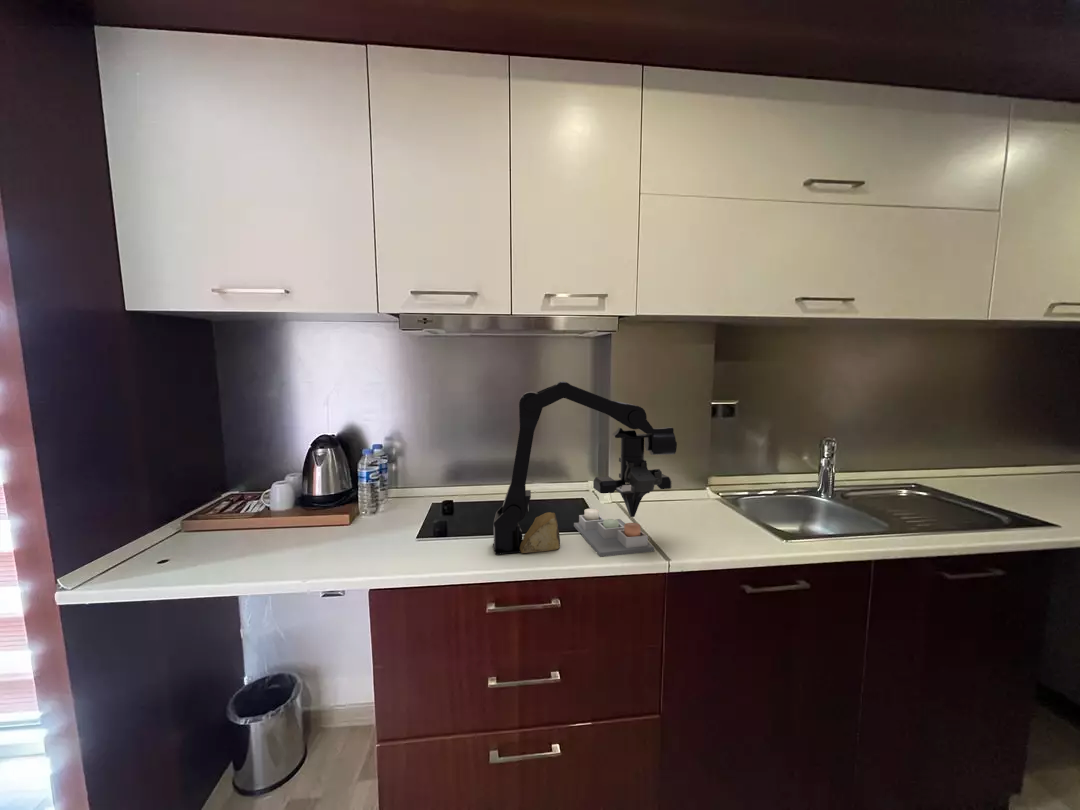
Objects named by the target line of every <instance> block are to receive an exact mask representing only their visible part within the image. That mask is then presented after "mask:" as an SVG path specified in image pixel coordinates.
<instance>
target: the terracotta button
mask: <svg viewBox="0 0 1080 810" xmlns="http://www.w3.org/2000/svg"><path fill="white" fill-rule="evenodd" d="M641 529H642V528H641V524H640V523H637V522H627V523H625V524H624V534H625V535H626V536H627V537H634V536H641V531H642V530H641Z"/></svg>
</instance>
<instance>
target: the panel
mask: <svg viewBox="0 0 1080 810" xmlns="http://www.w3.org/2000/svg"><path fill="white" fill-rule="evenodd" d="M604 520H605V518H603V517H602V516H601V515H600V514H599V520H591V521H586V520H585V516H584V514H579V515H578V522H573V528H575V530H577V532H578V533H579V532H580V533H581V534H582V535H581V534H580V533H579V534H580V535H581V536H582V538H584V539H585V541H586V542H587V544H588V545H589V546H590V545H591V546H590V547H591V548H592V549H593V550H594V552H595V553H596V552H597V553H596V554H597V556H598V557H600V558H601V557H602V556H603V557H611V556H619V555H620V556H622V555H631V554H640V553H649V552H650V553H651V552H655V547H654V545H652V544H651V543H650V542H649V540H648V537H649V536H648V535H647V534H646V533H644V532H643V531H642V530H641V536H634V537H627V536H626V535H625V534H624V524H626V523H625V521H623V520H622V519H621V518H615V520H618V521H619V527H618V528H607V529H606V528H605V527H604V526H603V521H604Z"/></svg>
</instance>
